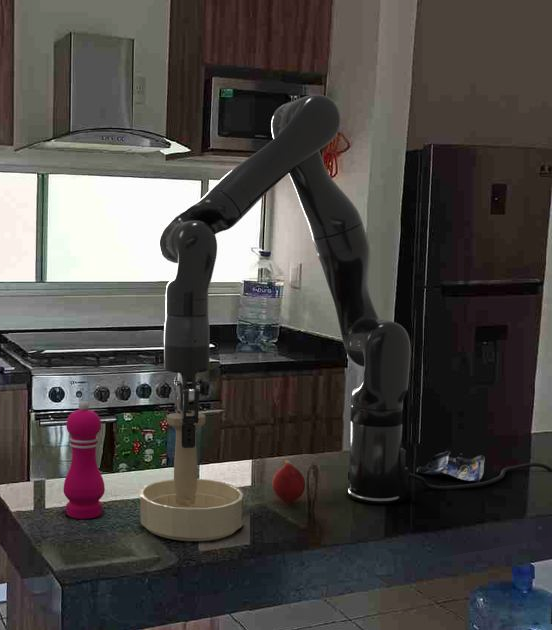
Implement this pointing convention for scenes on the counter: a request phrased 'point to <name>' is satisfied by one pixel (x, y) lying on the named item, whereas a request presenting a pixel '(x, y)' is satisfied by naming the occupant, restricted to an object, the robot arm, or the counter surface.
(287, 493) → the onion
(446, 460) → the snack package
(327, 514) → the counter surface
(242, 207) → the robot arm
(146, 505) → the bowl
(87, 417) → the pepper mill
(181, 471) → the handle
